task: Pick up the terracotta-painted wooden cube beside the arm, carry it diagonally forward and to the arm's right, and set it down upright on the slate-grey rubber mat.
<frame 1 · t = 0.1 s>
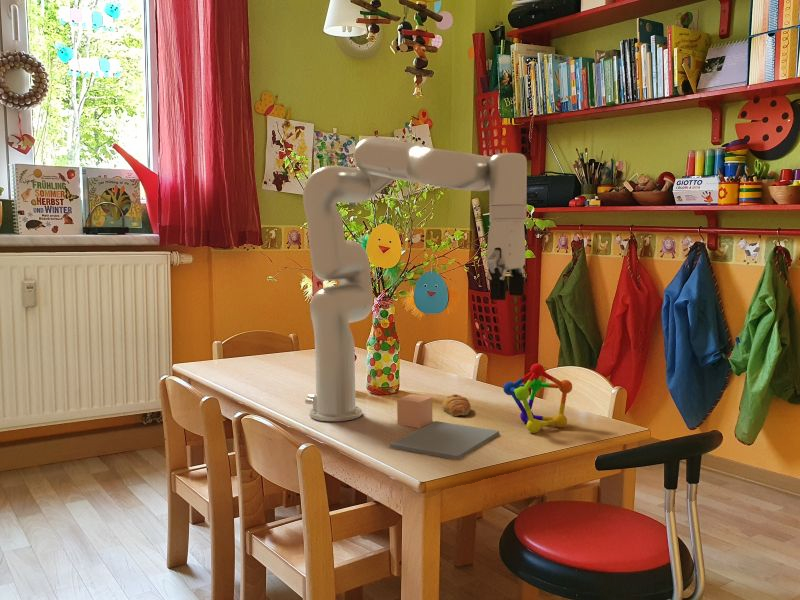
hand: (507, 297, 152), 31 cm above the table, tool pointing down, fingers open, 9 cm apart
mat: (445, 440, 158), on the table
cube: (415, 423, 172), on the table
educational toy: (533, 426, 168), on the table
pastry: (457, 413, 182), on the table
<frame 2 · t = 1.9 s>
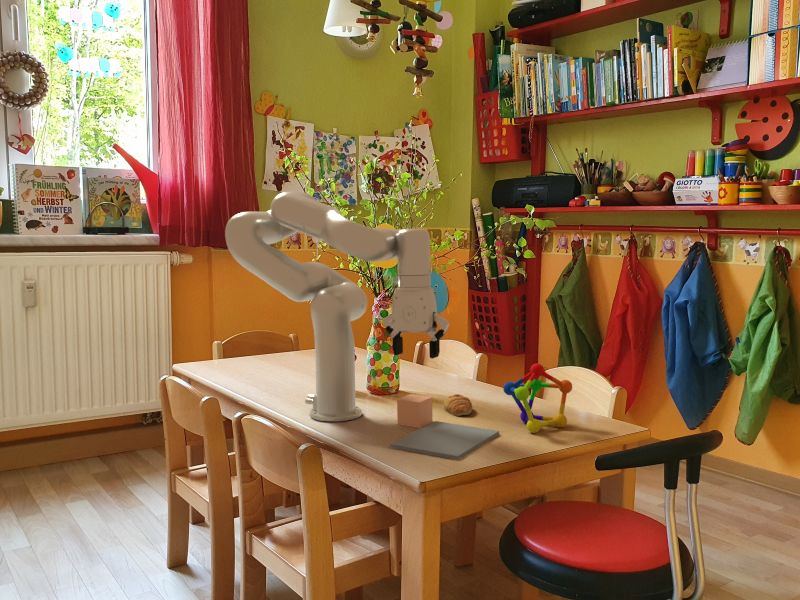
hand: (416, 355, 170), 16 cm above the table, tool pointing down, fingers open, 9 cm apart
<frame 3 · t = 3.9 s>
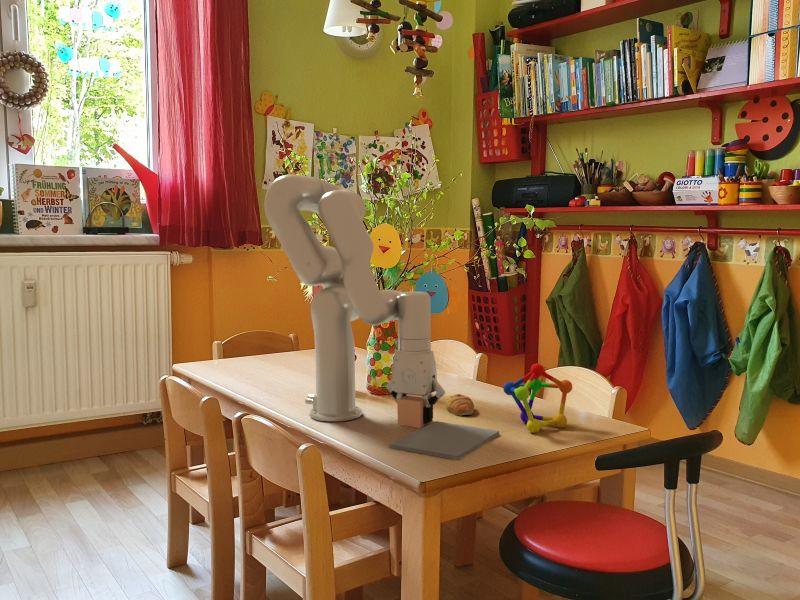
hand: (415, 419, 172), 1 cm above the table, tool pointing down, fingers closed on cube, 6 cm apart
cube: (415, 422, 172), on the table, touching gripper
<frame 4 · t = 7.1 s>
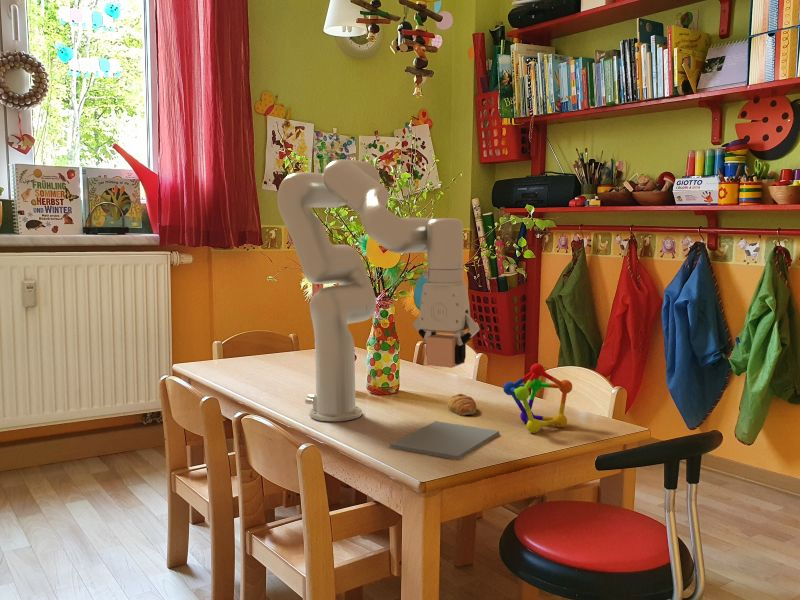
hand: (445, 360, 156), 17 cm above the table, tool pointing down, fingers closed on cube, 6 cm apart
cube: (445, 363, 156), point 17 cm above the table, touching gripper
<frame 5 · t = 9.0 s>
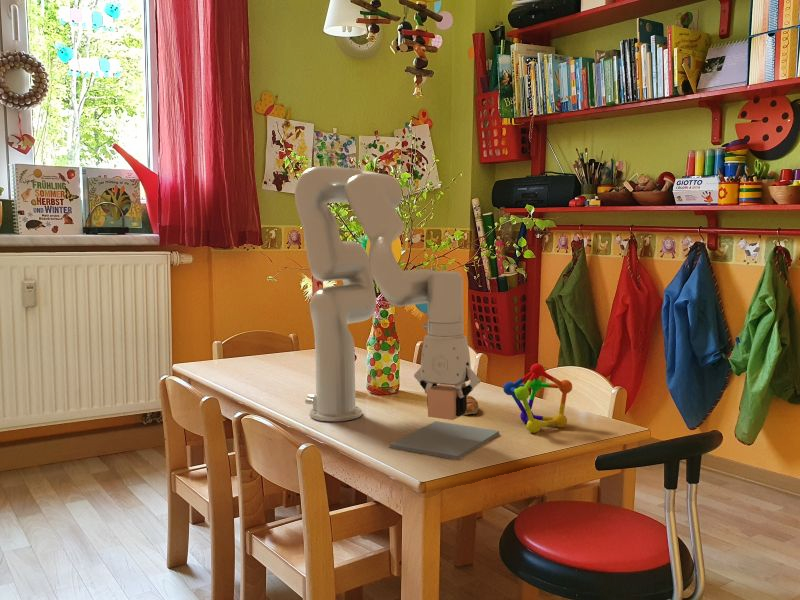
hand: (446, 412, 157), 6 cm above the table, tool pointing down, fingers closed on cube, 6 cm apart
cube: (447, 415, 157), point 6 cm above the table, touching gripper
when the fingers open (3 cm above the table, at t = 10.7 s): cube drops 1 cm, resting on mat.
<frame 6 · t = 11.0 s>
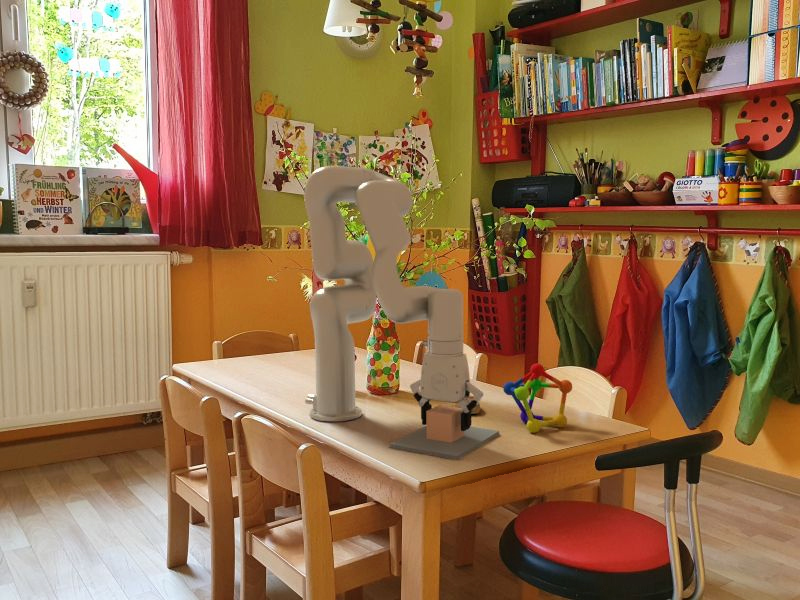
hand: (445, 426, 157), 3 cm above the table, tool pointing down, fingers open, 9 cm apart
cube: (445, 437, 158), point 1 cm above the table, touching mat
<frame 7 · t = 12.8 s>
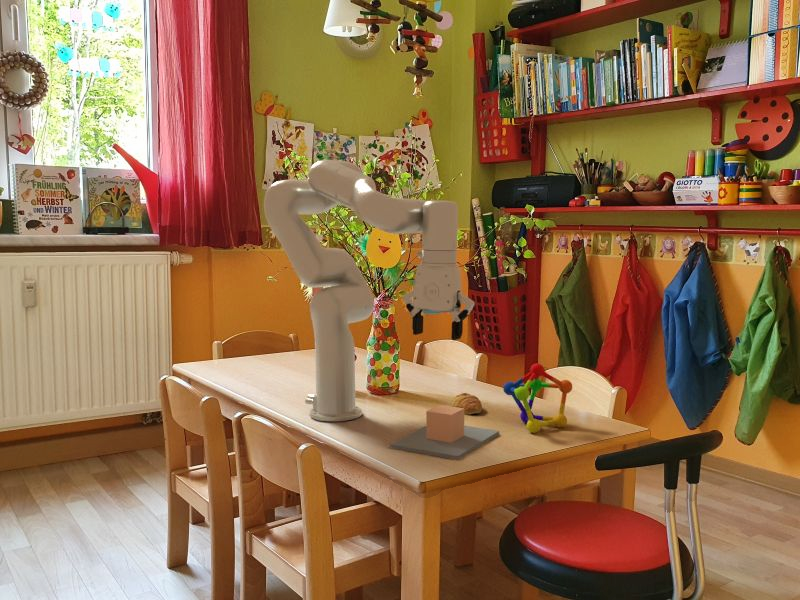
hand: (436, 336, 160), 22 cm above the table, tool pointing down, fingers open, 9 cm apart
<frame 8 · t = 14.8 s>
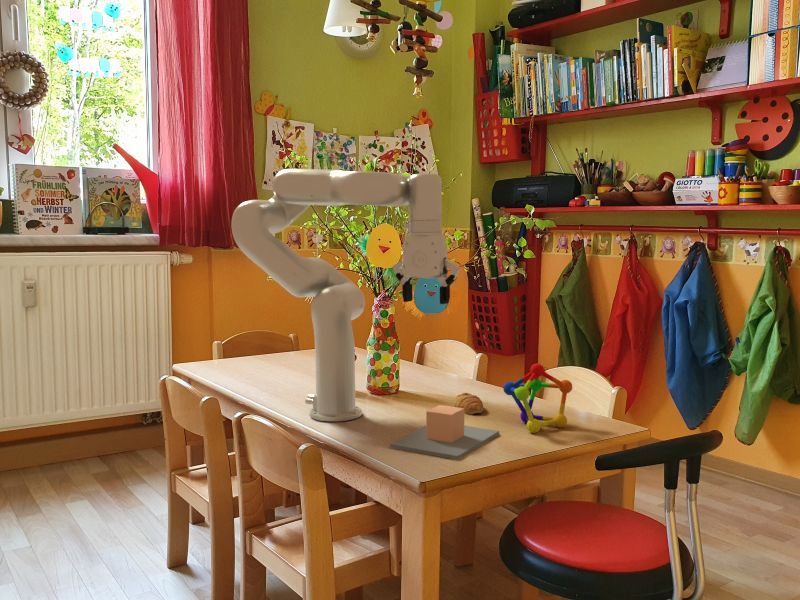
hand: (425, 302, 170), 28 cm above the table, tool pointing down, fingers open, 9 cm apart
at the end: cube inside the target area on the mat (0.1 cm from its centre), point 0.8 cm above the mat's base; cube tilted 0°; the gripper is holding nothing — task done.
